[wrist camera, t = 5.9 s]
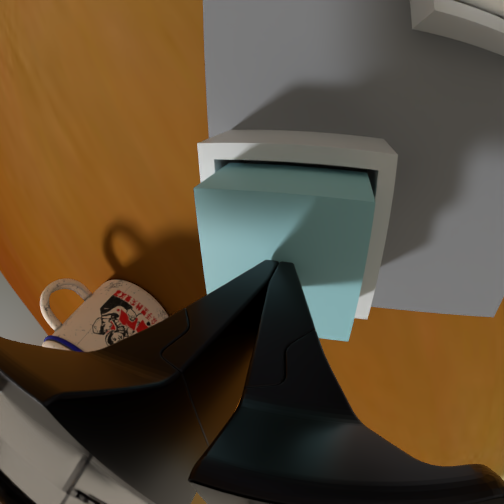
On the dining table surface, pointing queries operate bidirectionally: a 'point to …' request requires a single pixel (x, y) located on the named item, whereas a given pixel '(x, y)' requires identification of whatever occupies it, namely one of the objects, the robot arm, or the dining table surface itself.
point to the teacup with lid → (100, 315)
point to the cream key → (486, 6)
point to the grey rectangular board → (376, 129)
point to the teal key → (290, 232)
